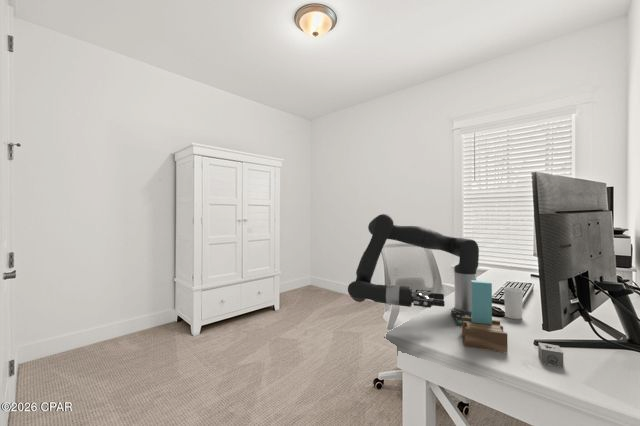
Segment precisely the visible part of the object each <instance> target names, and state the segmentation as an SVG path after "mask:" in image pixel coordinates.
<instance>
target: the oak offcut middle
mask: <svg viewBox="0 0 640 426" xmlns="http://www.w3.org/2000/svg"><path fill="white" fill-rule="evenodd" d="M467 325H470V326H478V327H486V328H494V329H501V328H500V327H498V326H490V325H481V324H473V323H467Z"/></svg>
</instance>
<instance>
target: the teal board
mask: <svg viewBox="0 0 640 426" xmlns="http://www.w3.org/2000/svg"><path fill="white" fill-rule="evenodd" d="M492 286H493V284H492V282H491V281H488V280H477V279H476V280H471V322H475V323H484V324H492V320H493V303H492V302H493V293H492V292H493V289H492Z"/></svg>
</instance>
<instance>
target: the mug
mask: <svg viewBox="0 0 640 426" xmlns="http://www.w3.org/2000/svg"><path fill="white" fill-rule="evenodd" d="M523 293H524V291H523V289H521V288H519V287H518V288H517V287H511V286H508V287H507V286H506V287H503V294H504V295H503V296H504V297H503V298H504V315H505V317H506V318H509V319H512V320H521V319H522V320H523V298H524V297H523V296H524V294H523Z"/></svg>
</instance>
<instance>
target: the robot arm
mask: <svg viewBox="0 0 640 426" xmlns="http://www.w3.org/2000/svg"><path fill="white" fill-rule="evenodd" d="M368 223H369V224H368V226H367V228H368V232H369V233H370V234H371V238H370V240H369V242H368V244H367V247H366V249H365V250H364V251H363V254H362V256H361V258H360V261H359V264H358V266H357V269H356V272H355V274H356V278H355V280H354V281H352V282H351V283H349V284H348V286H347V293H348V295H349V296H350V298H351V299H352V300H354V302H358V303H362V302H364V301H365V300H371V301H373V302H374V303H378V304H387V305H392V306H400V307H408V308H412V306H414V307H422V308H429V309H431V308H432V307H445V305H446V304H445V300H444V299H445V295H444V293H437V292H433V291H432V290H426V289H425V290H424V289H416V290H415V291H413V288H412V286H407V285H395V284H390V285H386V284H375V283H372V278H373V276H374V273H375V270H376V267H377V265H378V261H379V258H380V256H381V253H382V250H383V248H384V246H385V244H386V242H387V240H392V241H395V242H396V241H398V242H400V243H404V244H408V245H411V246H414V247H419V248H422V249H427V250H437V251H438V250H439V251H442V252H446V253H448V254H452V255H454V256H456V257H459V263H458V264H455V265H454V270H453V272H454V309H455V310H456V311H458V312H459V311H460V312H471V280H477V270H478V268H479V257H480V249H479V244H478V243H477V241H475V240H474V239H471V238H464V237H454V236H447V235H445V234H442V233H440V232H438V231H435V230H433V229H431V228H427V227H422V226H417V225H396V224H395V223H394V220H393V218H392V217H391V216H390V215H389V214H385V213H382V214H379V215H377V216H376V217H374V218H373V219H372V220H371V221H370V222H368Z"/></svg>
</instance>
